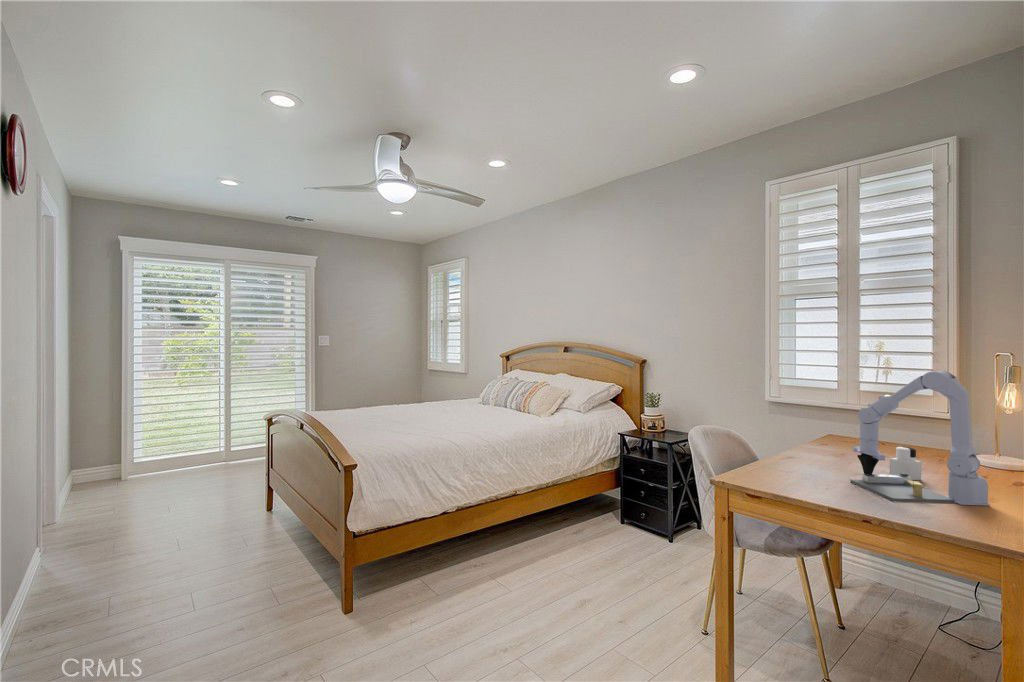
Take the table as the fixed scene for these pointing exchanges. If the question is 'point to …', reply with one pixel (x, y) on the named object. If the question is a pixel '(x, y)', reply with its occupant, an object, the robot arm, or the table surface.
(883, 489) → the board
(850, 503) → the table surface
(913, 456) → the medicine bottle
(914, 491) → the keeper
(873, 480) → the link
